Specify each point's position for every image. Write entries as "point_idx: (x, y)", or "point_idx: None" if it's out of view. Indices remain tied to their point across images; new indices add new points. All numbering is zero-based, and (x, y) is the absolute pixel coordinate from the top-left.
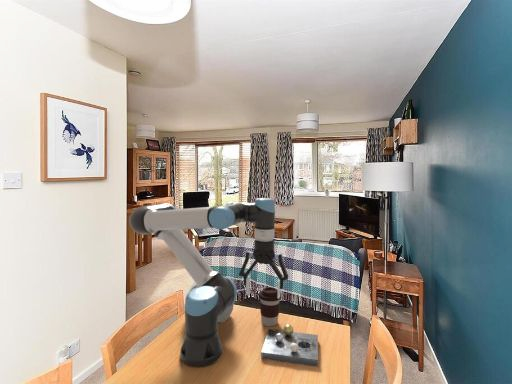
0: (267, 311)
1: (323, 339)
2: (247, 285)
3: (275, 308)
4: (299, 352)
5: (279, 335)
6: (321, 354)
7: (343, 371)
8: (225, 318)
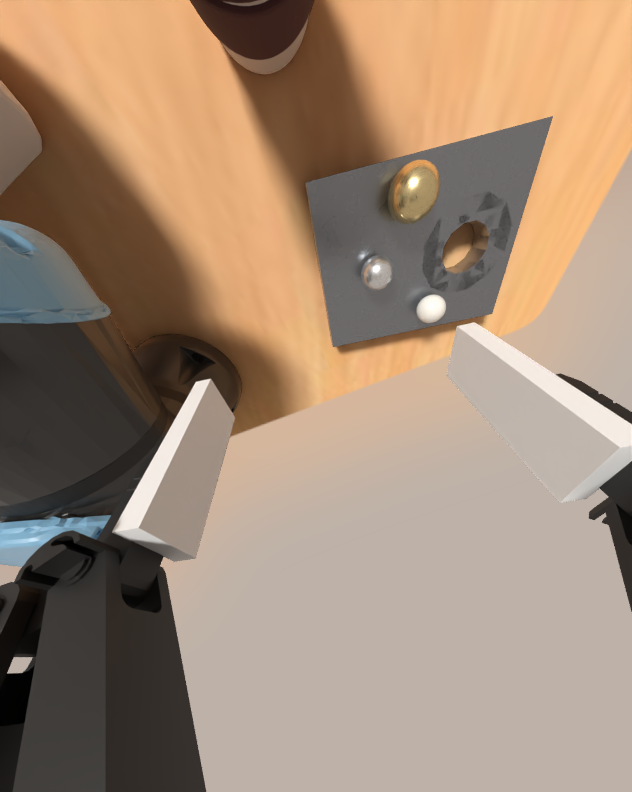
0: (261, 41)
1: (566, 84)
2: (212, 483)
3: None
4: None
5: (382, 285)
6: None
7: (546, 295)
8: (31, 141)
